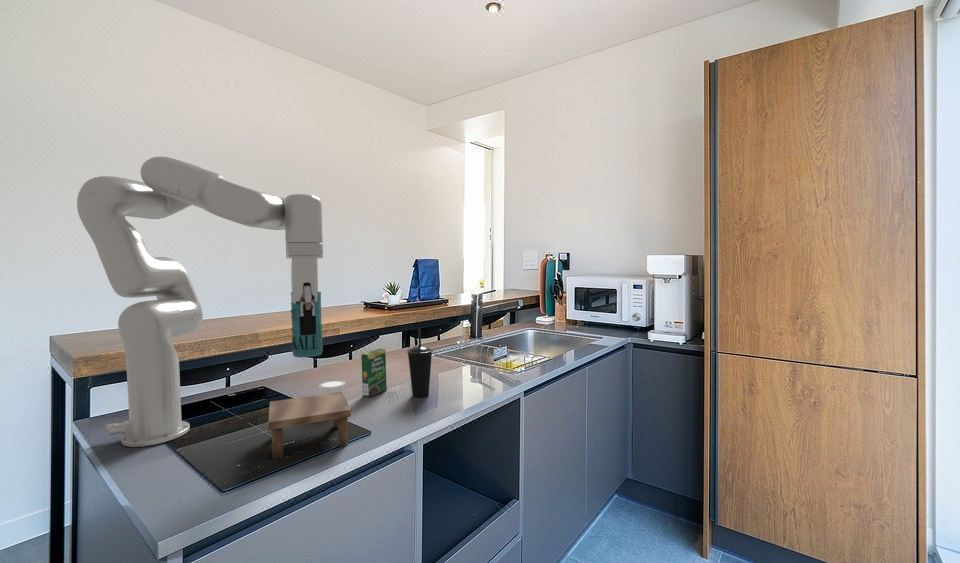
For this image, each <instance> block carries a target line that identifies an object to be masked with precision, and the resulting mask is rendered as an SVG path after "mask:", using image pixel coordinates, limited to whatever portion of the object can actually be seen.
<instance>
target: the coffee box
mask: <svg viewBox="0 0 960 563" xmlns="http://www.w3.org/2000/svg"><path fill="white" fill-rule="evenodd" d="M386 355H387V354H386V349H384V348H376V349H374V350H370V351H367V352H365V353H362V354H361V379H362V384H361V385H362V397H364V398H371V397H374V396H375V395H378V394H381V393H383V392H386V391H387V390H388V385H387V360H386V359H387V358H386V357H387V356H386Z"/></svg>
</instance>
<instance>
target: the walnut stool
mask: <svg viewBox="0 0 960 563" xmlns="http://www.w3.org/2000/svg"><path fill="white" fill-rule="evenodd" d="M351 416H352V410H351V408H350V406H349V404H348V402H347V400H346V397H344V395H343V393H342V392H336V393H329V394H322V395H320V394H317V395H310V396H301V397H295V398H294V397H293V398H287V399H281V400H280V399H279V400H272V401H269V409H268V422H267V423H268V431H270V430H271V447H272V448H271V451H272V452H271V453H272V456H271V457H272V460H278V459H277V458H280V457H282V456H283V457H284V441H283V440H284V428H288V427H296V426H301V425H306V424H307V425H308V424H313V423H314V424H315V423H319V422H325V421H331V420H332V428H333V427H338V428H337V429H338V430H337V433H338V434H337V435H338V437H337V438H338V446H339V445H340V446H339V447H345V446H347V445H348V444H349V426H348V424H349V423H348V422H349V420H348V418H349V417H351ZM283 457H282V458H283ZM280 459H281V458H280Z"/></svg>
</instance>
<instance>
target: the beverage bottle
mask: <svg viewBox="0 0 960 563" xmlns="http://www.w3.org/2000/svg"><path fill="white" fill-rule="evenodd" d="M303 291H304V287H303ZM290 298H291V303H290V307H291V309H290V313H291V316H290V319H291V321H290V322H291V345H292V348H291V352H292V355H293V357H294V358H312V357H316V356H317V357H319V356H320V355H322V354H323V351H324V345H323V343H324V341H323V328H322V327H323V325H322V323H323V322H322V291H321V290H320V289H319V288H318V297H317V302H316V303H314V309H315V316H316V334H314V335H300V318H299V317H301V310H300V301H296V304H294V303H293V301H292V291H291V292H290ZM314 300H315V296H314ZM311 301H312V299H311ZM302 302H305V299H304V300H302ZM314 302H315V301H314ZM303 312H304V310H303Z"/></svg>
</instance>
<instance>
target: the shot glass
mask: <svg viewBox="0 0 960 563" xmlns="http://www.w3.org/2000/svg"><path fill="white" fill-rule="evenodd" d="M318 388H319V395H322V394H329V393H336V392H342V393H343V395H344V397H345V396H346V395H345V394H346V382H345V381H343V380H329V381H324V382H321V383H320V384H319V385H318ZM345 398H346V397H345Z"/></svg>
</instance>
